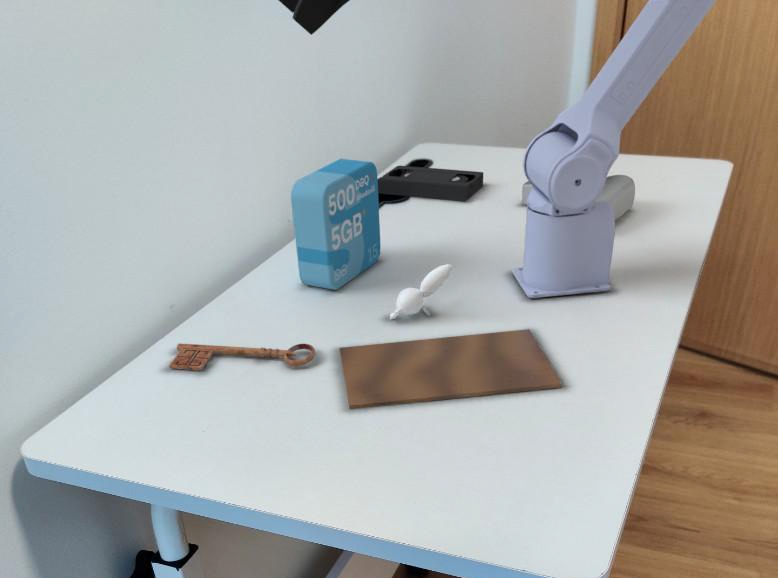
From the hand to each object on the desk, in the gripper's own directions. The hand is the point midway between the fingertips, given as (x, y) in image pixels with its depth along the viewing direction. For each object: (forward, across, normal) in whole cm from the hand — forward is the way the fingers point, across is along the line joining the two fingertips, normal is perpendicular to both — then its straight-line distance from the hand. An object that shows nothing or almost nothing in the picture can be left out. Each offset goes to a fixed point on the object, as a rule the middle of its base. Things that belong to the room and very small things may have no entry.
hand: (292, 15), depth 77 cm
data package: (+19, -6, +24) cm, 31 cm away
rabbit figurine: (+14, +9, +26) cm, 31 cm away
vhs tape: (+7, -32, +41) cm, 53 cm away
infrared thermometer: (-3, -13, +49) cm, 51 cm away
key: (+27, +13, +10) cm, 32 cm away
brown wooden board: (+14, +22, +24) cm, 35 cm away
